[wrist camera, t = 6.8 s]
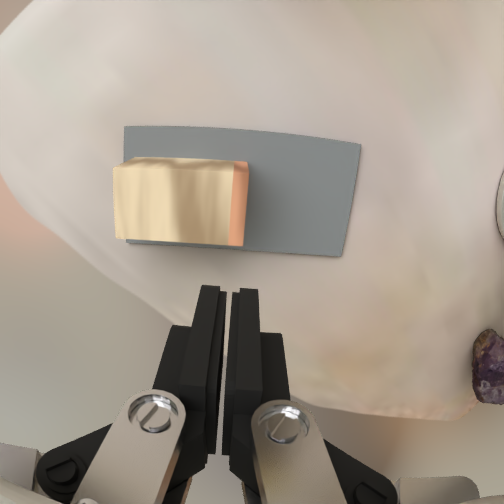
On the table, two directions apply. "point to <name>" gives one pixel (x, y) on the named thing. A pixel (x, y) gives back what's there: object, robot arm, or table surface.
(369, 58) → the table surface
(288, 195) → the mat
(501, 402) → the rock
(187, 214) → the maple block
